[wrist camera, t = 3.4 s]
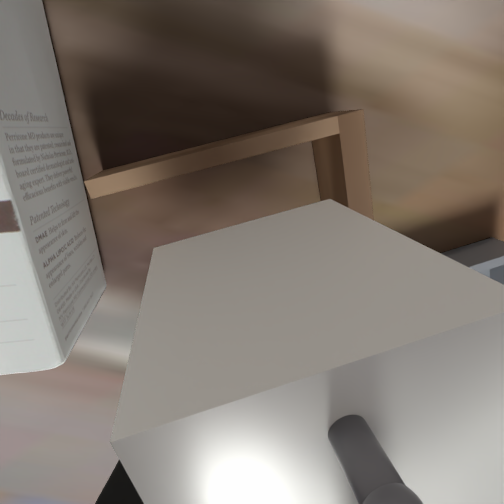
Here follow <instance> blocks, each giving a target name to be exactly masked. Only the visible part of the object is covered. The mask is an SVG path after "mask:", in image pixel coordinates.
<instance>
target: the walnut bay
mask: <svg viewBox="0 0 504 504" xmlns="http://www.w3.org/2000/svg"><path fill="white" fill-rule="evenodd" d="M309 141H312V145H313V152H314V158H315V165H316V171H317V178H318V184H319V191H320V198H321V201H324V200H327V199H331V200H333V201H336V202H338V203H340V204H342V205H344V206H346V207H348V208H350V209H352V210H354V211H356V212H358V213H360V214H362V215H364V216H366V217H368V218H370V219H372V220H374V217H373V207H372V196H371V185H370V174H369V164H368V153H367V142H366V132H365V121H364V110H363V109H360V110H349V111H338V112H328V113H325V114H321V115H317V116H313V117H309V118H305V119H301V120H297V121H293V122H290V123H286V124H282V125H278V126H274V127H270V128H266V129H262V130H258V131H254V132H251V133H247V134H243V135H239V136H235V137H231V138H227V139H223V140H219V141H216V142H212V143H208V144H204V145H200V146H196V147H192V148H188V149H184V150H181V151H177V152H173V153H169V154H165V155H161V156H157V157H153V158H149V159H146V160H142V161H138V162H134V163H130V164H126V165H122V166H118V167H114V168H111V169H107V170H103V171H101V172H99V173H98V174H96V175H94V176H93V177H91V178H89V179H87V180H86V181H84V183H85V185H86V188H87V190H88V192H89V195H90V197H91V199H93V198H97V197H101V196H104V195H108V194H112V193H116V192H119V191H123V190H127V189H131V188H135V187H138V186H142V185H146V184H150V183H153V182H157V181H161V180H165V179H169V178H172V177H176V176H180V175H184V174H188V173H191V172H195V171H199V170H203V169H206V168H210V167H214V166H218V165H222V164H225V163H229V162H233V161H237V160H240V159H244V158H248V157H252V156H256V155H259V154H263V153H267V152H271V151H275V150H278V149H282V148H286V147H290V146H293V145H297V144H301V143H305V142H309Z"/></svg>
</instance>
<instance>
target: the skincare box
mask: <svg viewBox="0 0 504 504" xmlns="http://www.w3.org/2000/svg"><path fill="white" fill-rule="evenodd" d="M105 289H106V280H105V276H104V272H103V267H102V263H101V258H100V254H99V250H98V245H97V241H96V236H95V232H94V228H93V223H92V219H91V215H90V210H89V206H88V201H87V197H86V192H85V188H84V184H83V179H82V175H81V170H80V166H79V161H78V157H77V152H76V148H75V144H74V139H73V135H72V131H71V126H70V122H69V117H68V113H67V108H66V104H65V99H64V95H63V90H62V86H61V82H60V77H59V73H58V68H57V64H56V60H55V55H54V51H53V47H52V43H51V38H50V34H49V29H48V25H47V20H46V16H45V12H44V7H43V3H42V0H0V375H5V374H13V373H26V372H34V371H41V370H49V369H53V368H55V367H57V366H59V365H61V364H63V363H64V362H65V361H66V359H67V357H68V356H69V354H70V352H71V350H72V349H73V347H74V345H75V343H76V342H77V340H78V338H79V336H80V334H81V332H82V330H83V329H84V327H85V325H86V323H87V321H88V320H89V318H90V316H91V314H92V312H93V311H94V309H95V307H96V306H97V304H98V302H99V300H100V298H101V296H102V294H103V293H104V291H105Z"/></svg>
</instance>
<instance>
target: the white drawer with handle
mask: <svg viewBox="0 0 504 504" xmlns="http://www.w3.org/2000/svg"><path fill="white" fill-rule="evenodd" d="M110 444H111V445H112V447H113V449H114V451H115V453H116V454H117V456H118V458H119V460H120V462H121V463H122V465H123V467H124V469H125V471H126V472H127V474H128V476H129V478H130V480H131V481H132V483H133V485H134V487H135V488H136V490H137V492H138V494H139V496H140V497H141V499H142V501H143V503H144V504H504V285H503V284H501V283H499V282H497V281H495V280H493V279H491V278H489V277H487V276H485V275H483V274H481V273H479V272H477V271H475V270H473V269H471V268H469V267H467V266H465V265H463V264H461V263H459V262H457V261H455V260H453V259H451V258H449V257H447V256H445V255H443V254H441V253H439V252H436V251H434V250H432V249H430V248H428V247H426V246H424V245H422V244H420V243H418V242H416V241H414V240H412V239H410V238H408V237H406V236H404V235H402V234H400V233H398V232H396V231H394V230H392V229H390V228H388V227H386V226H384V225H382V224H380V223H378V222H376V221H374V220H372V219H370V218H368V217H366V216H364V215H362V214H360V213H358V212H356V211H354V210H352V209H350V208H348V207H346V206H344V205H342V204H340V203H338V202H336V201H333V200H331V199H327V200H324V201H320V202H317V203H313V204H309V205H306V206H302V207H299V208H295V209H292V210H288V211H284V212H281V213H277V214H274V215H270V216H267V217H263V218H259V219H256V220H252V221H249V222H245V223H242V224H238V225H234V226H231V227H227V228H224V229H220V230H216V231H213V232H209V233H206V234H202V235H199V236H195V237H191V238H188V239H184V240H181V241H177V242H174V243H170V244H166V245H163V246H159V247H156V248H154V249H153V253H152V258H151V262H150V267H149V271H148V275H147V280H146V284H145V289H144V293H143V298H142V302H141V306H140V311H139V315H138V320H137V324H136V329H135V333H134V337H133V342H132V346H131V351H130V355H129V360H128V364H127V369H126V373H125V377H124V382H123V386H122V391H121V395H120V400H119V404H118V408H117V413H116V417H115V422H114V426H113V431H112V435H111V439H110Z"/></svg>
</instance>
